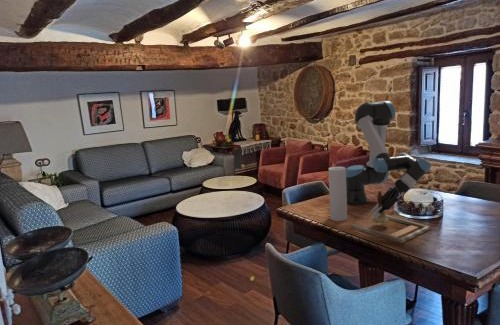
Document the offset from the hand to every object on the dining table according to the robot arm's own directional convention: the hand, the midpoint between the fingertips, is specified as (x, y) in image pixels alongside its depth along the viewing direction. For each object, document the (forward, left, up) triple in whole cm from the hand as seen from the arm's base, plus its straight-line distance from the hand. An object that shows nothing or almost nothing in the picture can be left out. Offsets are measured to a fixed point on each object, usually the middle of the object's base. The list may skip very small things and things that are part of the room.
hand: (373, 215), depth 194 cm
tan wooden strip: (-4, +16, -6) cm, 17 cm away
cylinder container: (+3, -21, -6) cm, 23 cm away
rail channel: (-4, +8, -6) cm, 10 cm away
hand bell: (-3, +2, -4) cm, 5 cm away
